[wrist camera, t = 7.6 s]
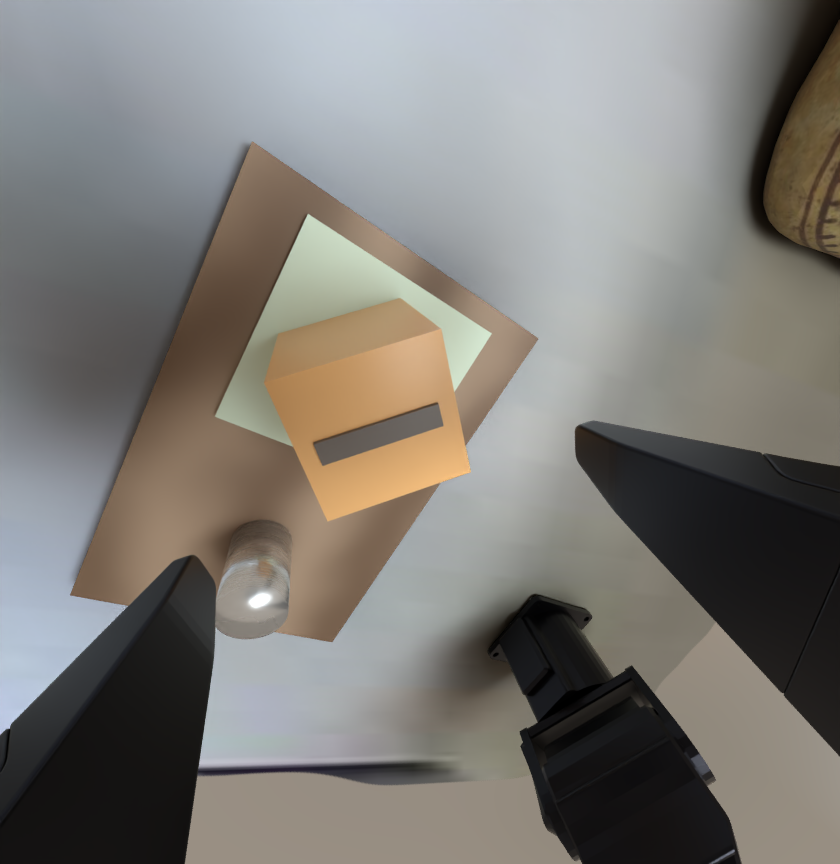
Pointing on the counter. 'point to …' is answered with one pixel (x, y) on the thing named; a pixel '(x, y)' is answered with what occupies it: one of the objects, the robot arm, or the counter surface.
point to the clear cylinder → (255, 581)
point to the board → (254, 453)
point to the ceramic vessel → (810, 159)
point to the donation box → (368, 405)
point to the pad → (326, 298)
